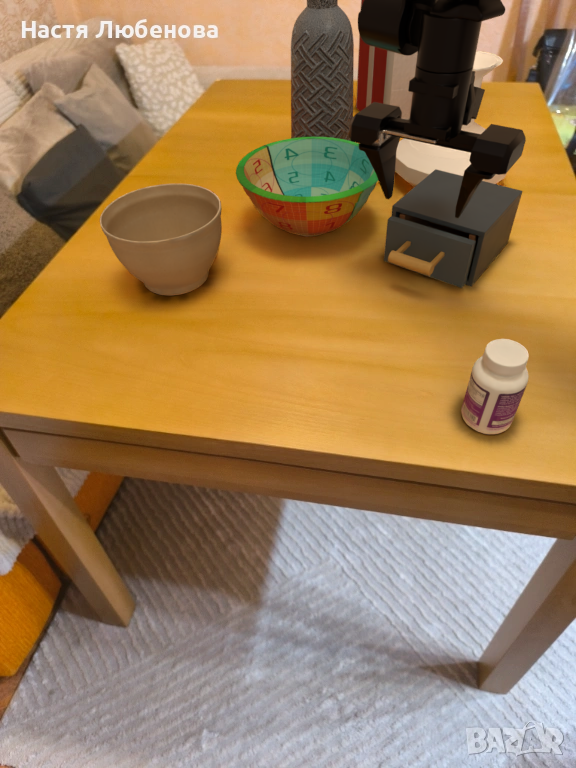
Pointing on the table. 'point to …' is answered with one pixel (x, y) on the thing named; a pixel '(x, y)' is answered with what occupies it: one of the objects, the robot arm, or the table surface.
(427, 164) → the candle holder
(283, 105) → the table surface
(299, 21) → the vase
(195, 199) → the planter bowl
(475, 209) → the cabinet
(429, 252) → the drawer
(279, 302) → the table surface
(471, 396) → the pill bottle
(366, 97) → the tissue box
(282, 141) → the bowl
